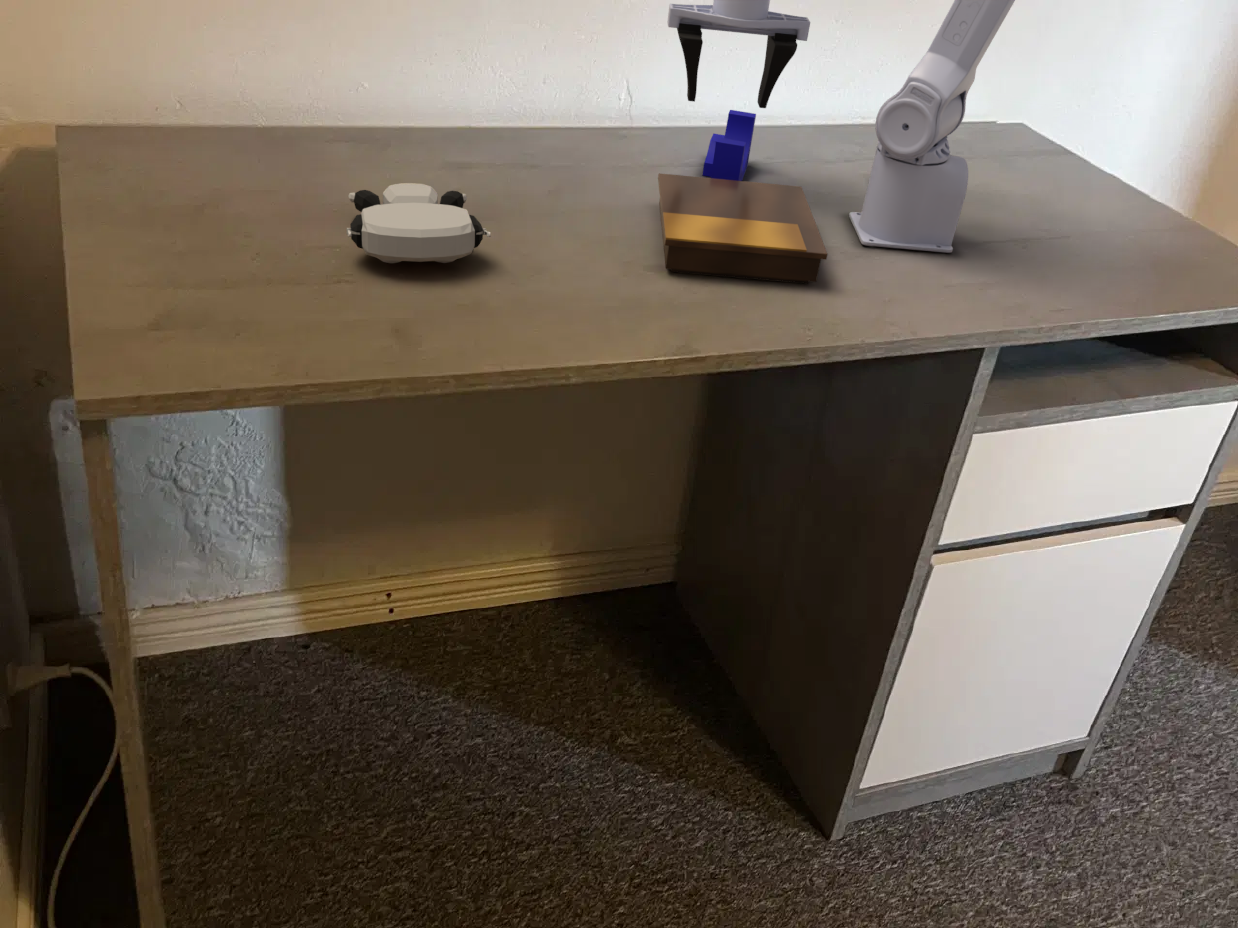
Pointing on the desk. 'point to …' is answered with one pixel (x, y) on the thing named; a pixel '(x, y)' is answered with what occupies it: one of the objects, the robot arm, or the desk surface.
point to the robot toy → (414, 224)
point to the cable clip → (731, 148)
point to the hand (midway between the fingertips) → (726, 102)
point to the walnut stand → (738, 229)
